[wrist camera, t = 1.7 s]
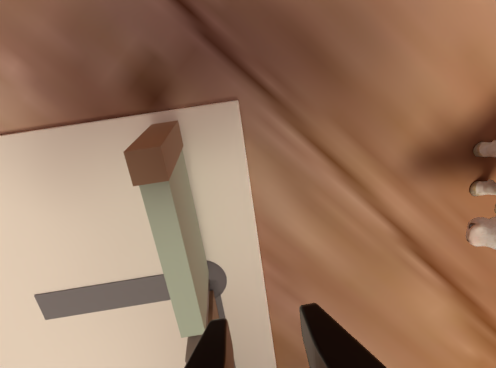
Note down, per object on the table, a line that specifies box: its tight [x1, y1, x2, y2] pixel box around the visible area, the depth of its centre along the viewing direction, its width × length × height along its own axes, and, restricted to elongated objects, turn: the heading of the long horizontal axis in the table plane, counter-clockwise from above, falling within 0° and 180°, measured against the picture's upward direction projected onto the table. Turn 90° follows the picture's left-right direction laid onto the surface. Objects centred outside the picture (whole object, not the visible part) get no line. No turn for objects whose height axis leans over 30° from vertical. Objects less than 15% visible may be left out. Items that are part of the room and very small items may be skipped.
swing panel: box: [123, 120, 209, 338], centre depth 17 cm, size 10×1×5 cm, turn 8°
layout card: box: [0, 100, 277, 368], centre depth 21 cm, size 22×20×1 cm
